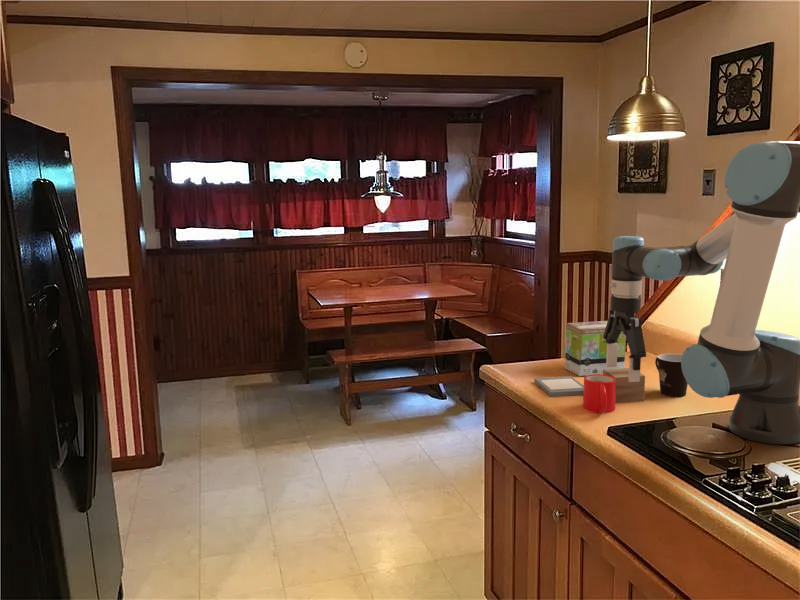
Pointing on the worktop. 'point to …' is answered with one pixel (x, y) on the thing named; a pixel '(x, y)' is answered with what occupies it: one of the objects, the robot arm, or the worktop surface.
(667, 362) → the coffee mug
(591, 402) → the mug
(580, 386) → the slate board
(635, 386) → the walnut block
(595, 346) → the tea box
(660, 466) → the worktop surface
